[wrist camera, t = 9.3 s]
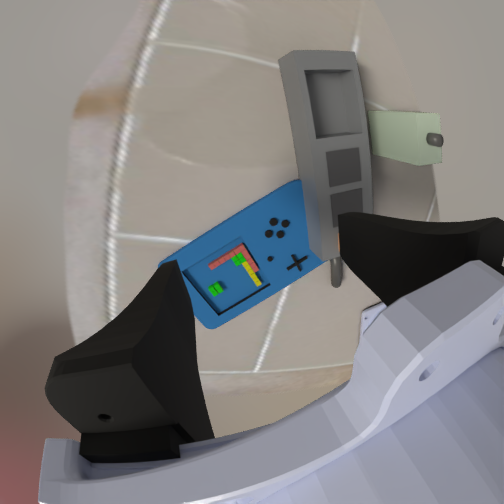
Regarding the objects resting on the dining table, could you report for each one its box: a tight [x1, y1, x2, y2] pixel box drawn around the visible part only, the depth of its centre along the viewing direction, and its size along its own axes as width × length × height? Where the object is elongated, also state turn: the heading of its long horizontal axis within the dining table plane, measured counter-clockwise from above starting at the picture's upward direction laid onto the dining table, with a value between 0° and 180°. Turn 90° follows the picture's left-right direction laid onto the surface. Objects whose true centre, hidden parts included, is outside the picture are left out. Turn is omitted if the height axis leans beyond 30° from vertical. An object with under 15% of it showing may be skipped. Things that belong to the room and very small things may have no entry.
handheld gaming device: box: [158, 180, 326, 329], centre depth 23 cm, size 8×1×15 cm
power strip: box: [278, 50, 373, 288], centre depth 21 cm, size 21×5×4 cm, turn 11°
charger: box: [368, 111, 443, 166], centre depth 18 cm, size 4×3×7 cm
